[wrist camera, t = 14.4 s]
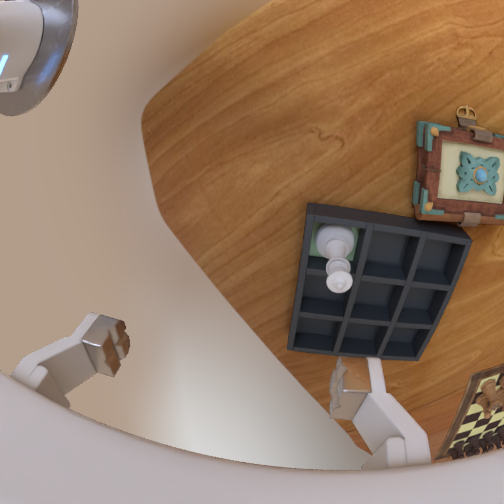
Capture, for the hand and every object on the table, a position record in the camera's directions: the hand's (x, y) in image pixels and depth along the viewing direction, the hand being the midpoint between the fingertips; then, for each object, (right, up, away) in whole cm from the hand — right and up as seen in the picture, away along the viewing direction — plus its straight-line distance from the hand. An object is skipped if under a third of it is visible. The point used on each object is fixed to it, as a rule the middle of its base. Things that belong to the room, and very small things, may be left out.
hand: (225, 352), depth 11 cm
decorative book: (+27, +14, +16) cm, 34 cm away
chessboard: (+69, -34, +34) cm, 84 cm away
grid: (+16, -1, +26) cm, 31 cm away
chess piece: (+10, +5, +23) cm, 26 cm away
